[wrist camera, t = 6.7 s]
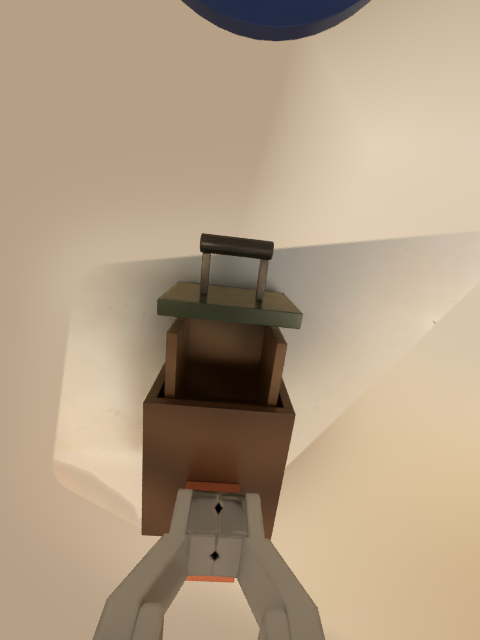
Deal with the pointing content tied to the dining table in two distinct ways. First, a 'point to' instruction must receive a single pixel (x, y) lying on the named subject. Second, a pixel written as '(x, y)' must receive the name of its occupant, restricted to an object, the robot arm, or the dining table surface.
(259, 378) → the drawer
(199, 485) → the block
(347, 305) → the dining table surface
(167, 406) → the cabinet
